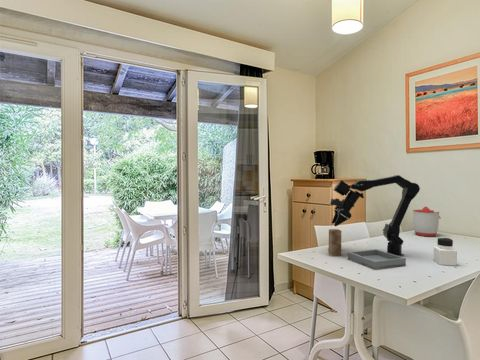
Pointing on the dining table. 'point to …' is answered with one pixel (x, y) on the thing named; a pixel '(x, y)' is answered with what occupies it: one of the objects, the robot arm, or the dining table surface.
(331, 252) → the walnut block
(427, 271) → the dining table surface
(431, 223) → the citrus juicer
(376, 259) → the tray
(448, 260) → the medicine bottle
